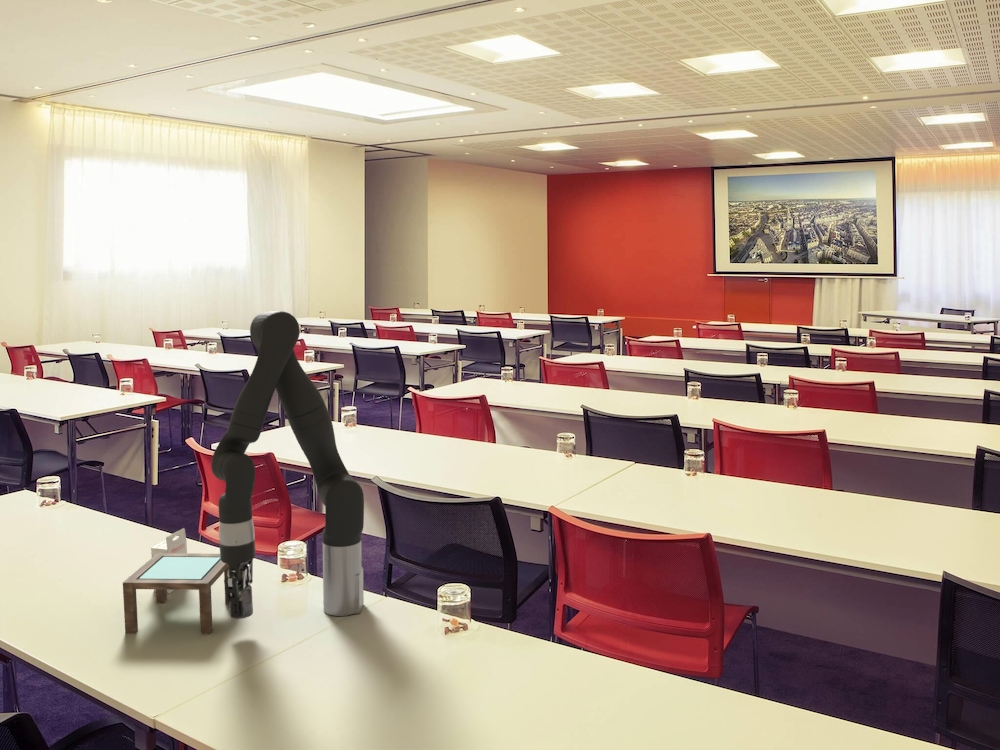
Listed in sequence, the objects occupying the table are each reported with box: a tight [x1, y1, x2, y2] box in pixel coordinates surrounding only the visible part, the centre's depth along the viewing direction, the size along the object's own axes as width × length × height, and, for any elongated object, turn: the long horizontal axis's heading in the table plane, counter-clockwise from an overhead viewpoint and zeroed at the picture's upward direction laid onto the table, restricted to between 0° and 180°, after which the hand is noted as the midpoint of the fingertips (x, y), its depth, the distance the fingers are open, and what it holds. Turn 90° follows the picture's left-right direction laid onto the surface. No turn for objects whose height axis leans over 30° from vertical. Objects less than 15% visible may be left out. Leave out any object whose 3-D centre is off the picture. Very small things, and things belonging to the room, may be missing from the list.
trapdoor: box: [139, 557, 221, 580], centre depth 193 cm, size 14×14×1 cm
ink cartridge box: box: [150, 527, 188, 594], centre depth 211 cm, size 9×5×15 cm, turn 168°
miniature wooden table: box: [122, 552, 229, 635], centre depth 194 cm, size 19×19×12 cm
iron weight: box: [228, 584, 254, 620], centre depth 184 cm, size 5×5×6 cm
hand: (241, 610), depth 185 cm, fingers closed on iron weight, 5 cm apart
